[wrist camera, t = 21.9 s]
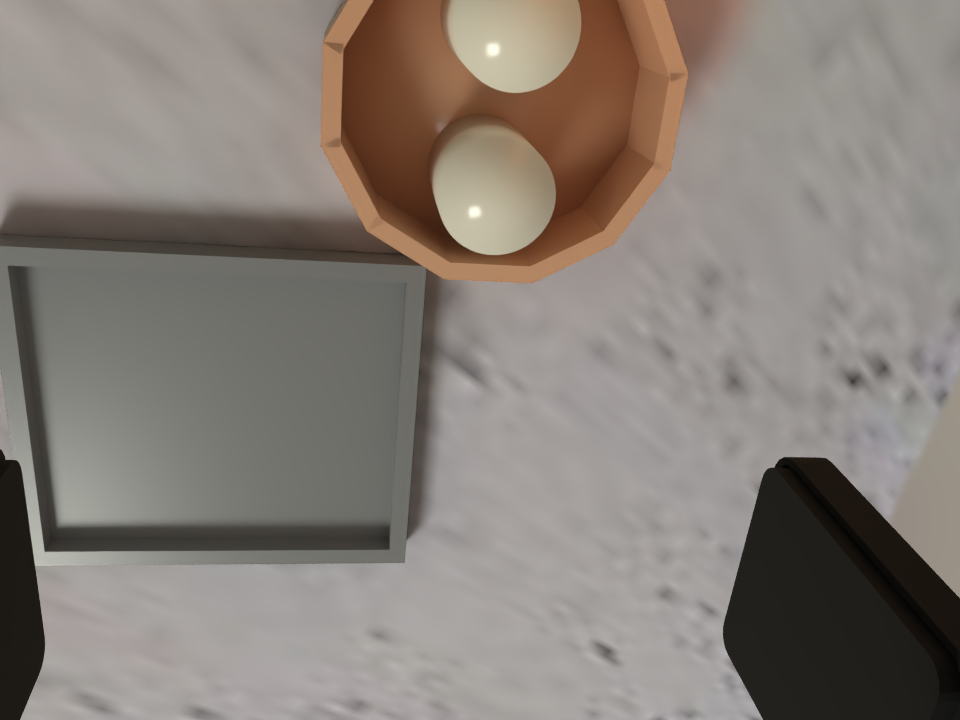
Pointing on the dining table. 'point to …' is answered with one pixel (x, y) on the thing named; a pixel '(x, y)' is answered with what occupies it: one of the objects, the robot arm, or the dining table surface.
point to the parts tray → (210, 400)
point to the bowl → (535, 114)
